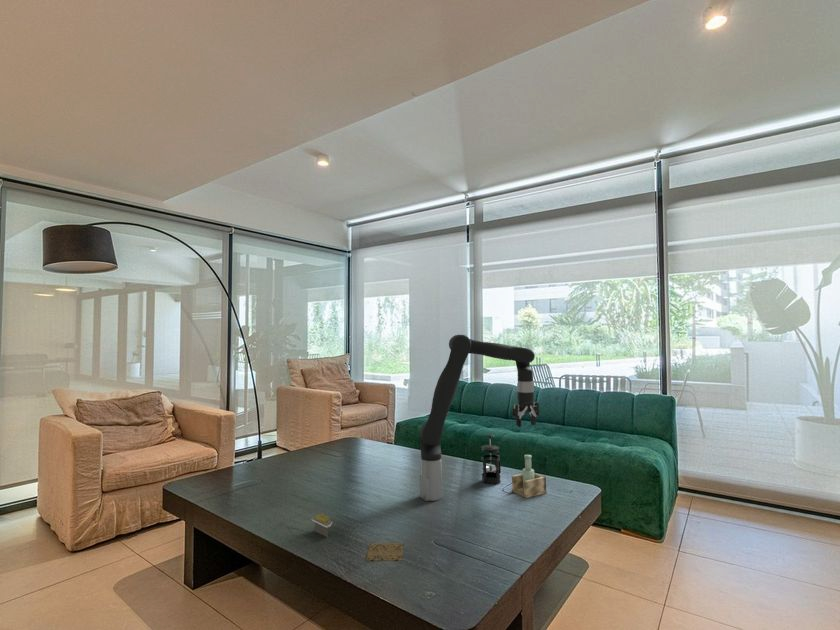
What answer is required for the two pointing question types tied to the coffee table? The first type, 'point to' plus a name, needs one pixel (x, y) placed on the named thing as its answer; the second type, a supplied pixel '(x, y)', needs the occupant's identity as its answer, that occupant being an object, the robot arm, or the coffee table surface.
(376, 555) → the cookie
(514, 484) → the u rest
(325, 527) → the plastic food container
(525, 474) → the pale green pin
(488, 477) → the french press
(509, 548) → the coffee table surface
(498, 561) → the coffee table surface
